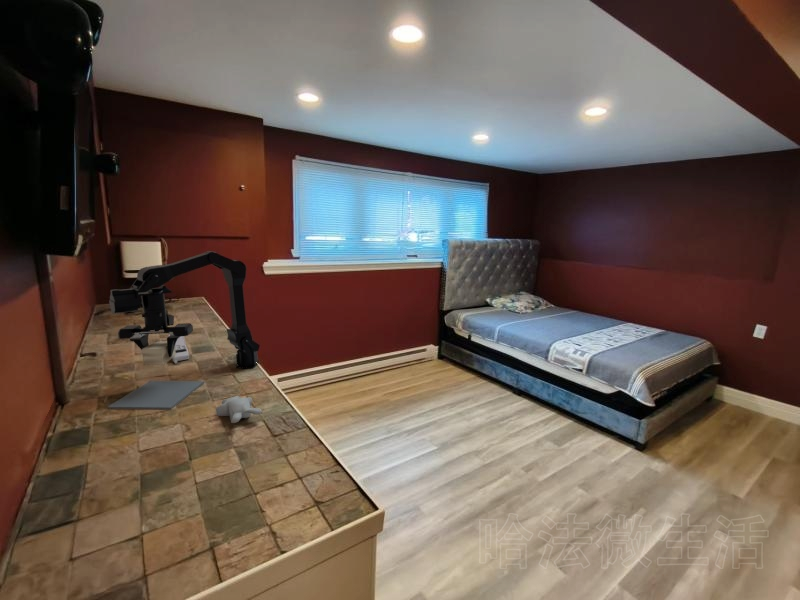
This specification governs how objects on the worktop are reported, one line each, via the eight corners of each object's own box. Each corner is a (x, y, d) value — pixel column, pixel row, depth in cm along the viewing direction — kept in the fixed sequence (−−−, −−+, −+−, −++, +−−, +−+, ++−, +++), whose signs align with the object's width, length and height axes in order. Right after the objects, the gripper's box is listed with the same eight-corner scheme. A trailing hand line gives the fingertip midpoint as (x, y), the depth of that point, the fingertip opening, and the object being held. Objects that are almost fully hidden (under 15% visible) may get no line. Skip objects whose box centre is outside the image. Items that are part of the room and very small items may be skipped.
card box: (162, 364, 110) (161, 348, 109) (143, 365, 110) (141, 349, 109) (176, 355, 118) (174, 341, 117) (157, 356, 117) (156, 341, 117)
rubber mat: (204, 382, 121) (204, 381, 121) (171, 409, 103) (170, 407, 103) (150, 382, 121) (150, 380, 121) (107, 408, 103) (107, 406, 103)
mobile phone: (183, 332, 159) (189, 347, 138) (185, 345, 160) (191, 362, 140) (167, 334, 155) (170, 350, 135) (169, 347, 157) (172, 365, 136)
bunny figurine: (244, 389, 108) (265, 401, 97) (246, 405, 108) (267, 419, 97) (210, 399, 101) (228, 413, 90) (212, 416, 102) (230, 432, 91)
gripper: (196, 302, 120) (200, 347, 123) (132, 304, 116) (138, 350, 119) (184, 309, 110) (189, 358, 113) (113, 311, 106) (120, 362, 109)
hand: (159, 357), depth 114 cm, fingers closed on card box, 6 cm apart
